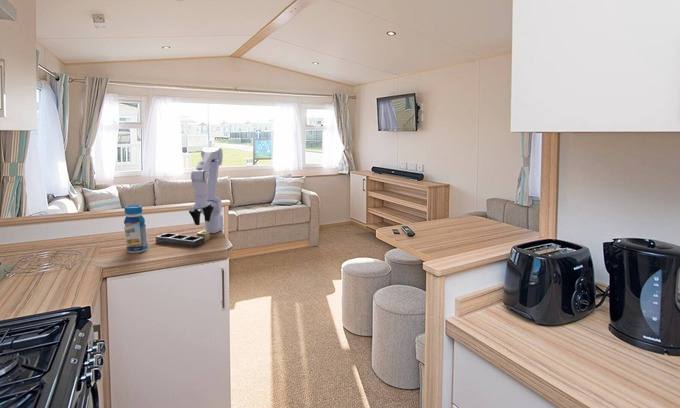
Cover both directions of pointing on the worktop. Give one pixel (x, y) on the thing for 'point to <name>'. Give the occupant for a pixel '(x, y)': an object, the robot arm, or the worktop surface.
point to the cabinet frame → (180, 240)
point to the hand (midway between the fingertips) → (202, 223)
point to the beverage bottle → (135, 229)
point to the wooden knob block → (204, 235)
